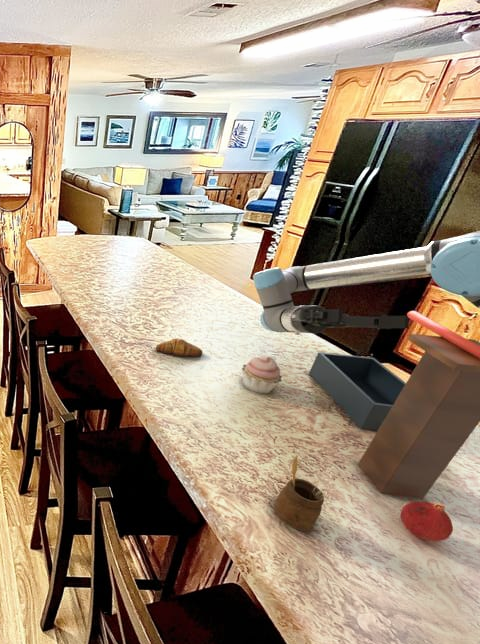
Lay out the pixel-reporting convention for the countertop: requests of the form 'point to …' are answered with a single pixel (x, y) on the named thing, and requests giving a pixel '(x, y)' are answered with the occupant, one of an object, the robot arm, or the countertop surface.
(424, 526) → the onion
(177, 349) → the croissant
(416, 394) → the stand
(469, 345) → the red long rounded rod
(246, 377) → the cupcake
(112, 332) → the countertop surface
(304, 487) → the utensil holder
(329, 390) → the bin
